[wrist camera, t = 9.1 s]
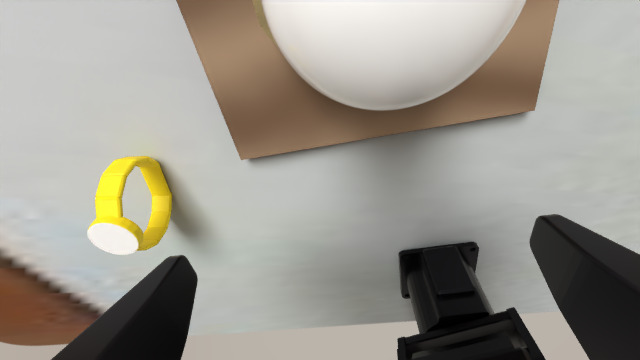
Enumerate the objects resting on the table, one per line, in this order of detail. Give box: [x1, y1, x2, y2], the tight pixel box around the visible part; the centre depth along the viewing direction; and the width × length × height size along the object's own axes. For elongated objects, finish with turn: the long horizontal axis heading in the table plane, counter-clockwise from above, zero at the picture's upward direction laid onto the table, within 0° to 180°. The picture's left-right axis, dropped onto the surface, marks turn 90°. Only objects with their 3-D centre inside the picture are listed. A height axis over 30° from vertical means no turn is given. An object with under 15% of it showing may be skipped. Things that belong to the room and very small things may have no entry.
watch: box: [87, 156, 172, 255], centre depth 20 cm, size 6×3×6 cm, turn 2°
